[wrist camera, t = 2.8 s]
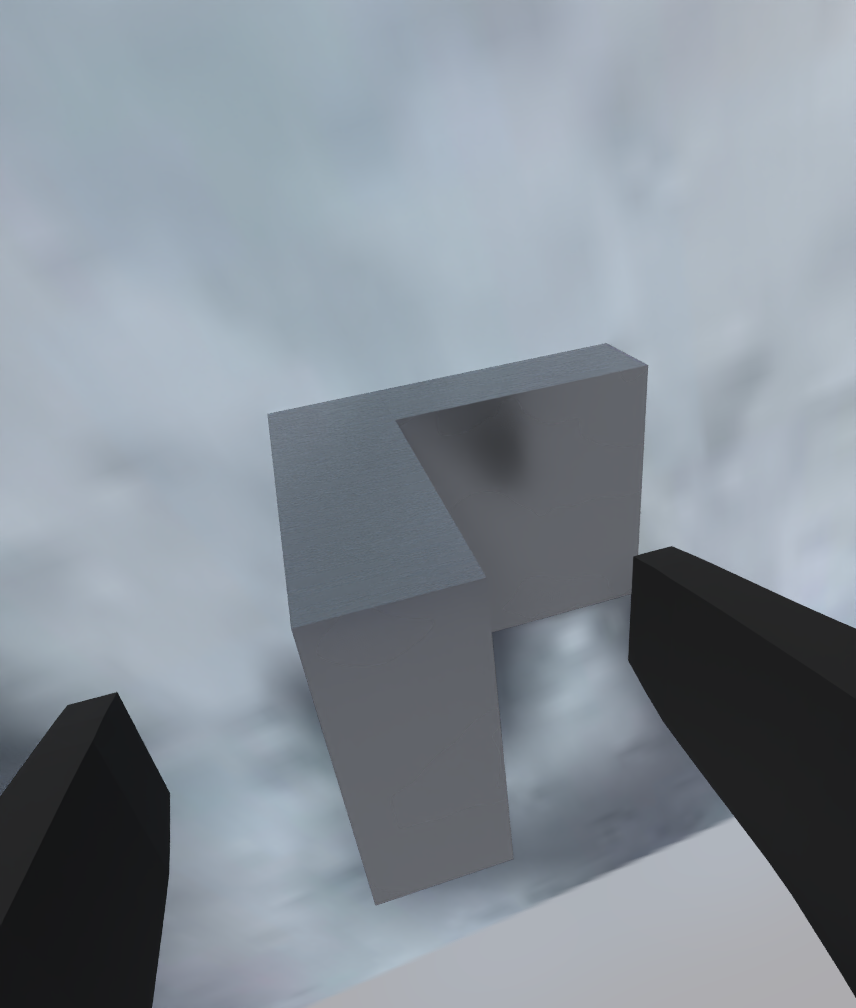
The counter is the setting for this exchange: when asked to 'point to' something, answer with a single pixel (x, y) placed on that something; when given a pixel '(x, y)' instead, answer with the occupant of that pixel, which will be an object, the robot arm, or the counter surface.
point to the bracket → (447, 579)
